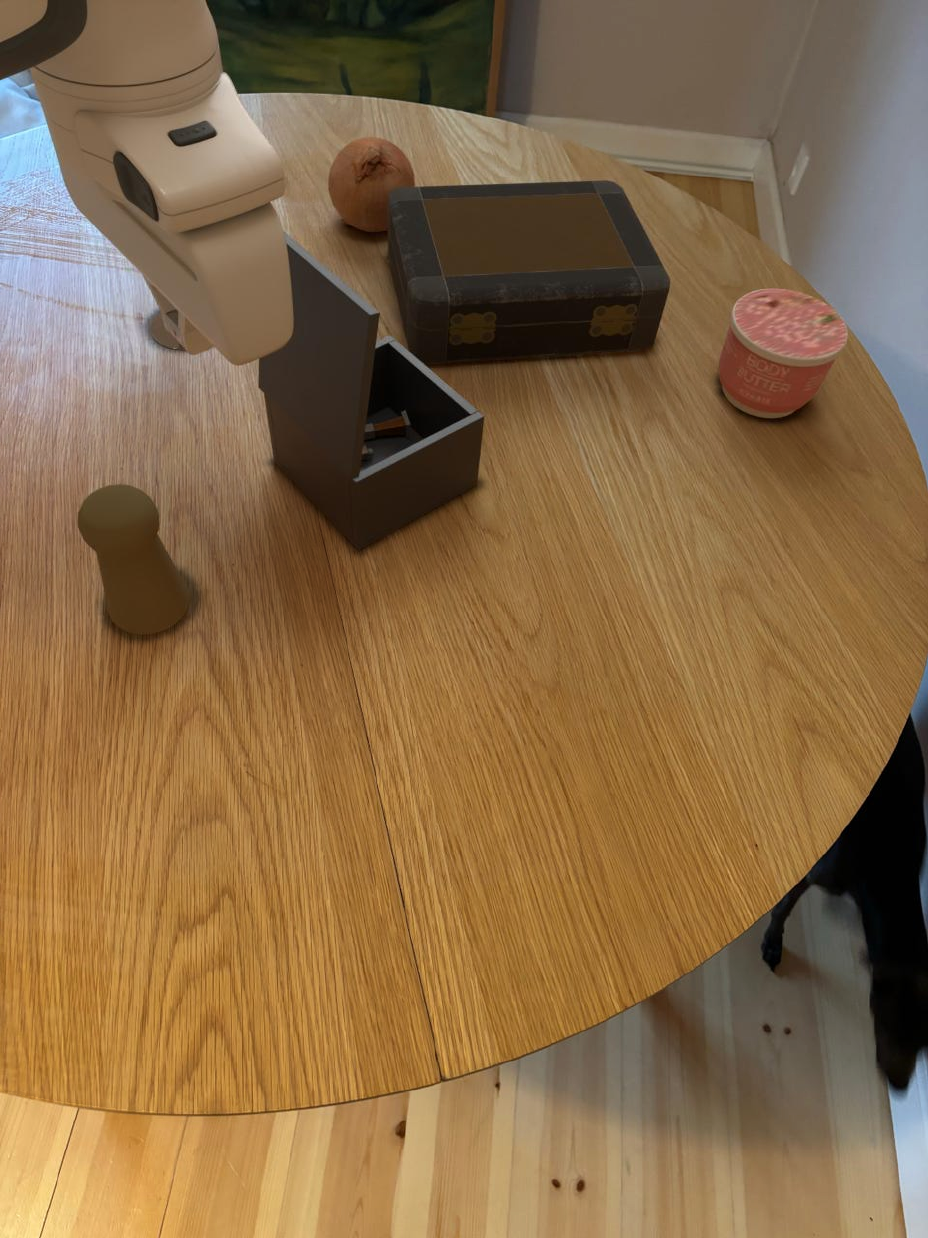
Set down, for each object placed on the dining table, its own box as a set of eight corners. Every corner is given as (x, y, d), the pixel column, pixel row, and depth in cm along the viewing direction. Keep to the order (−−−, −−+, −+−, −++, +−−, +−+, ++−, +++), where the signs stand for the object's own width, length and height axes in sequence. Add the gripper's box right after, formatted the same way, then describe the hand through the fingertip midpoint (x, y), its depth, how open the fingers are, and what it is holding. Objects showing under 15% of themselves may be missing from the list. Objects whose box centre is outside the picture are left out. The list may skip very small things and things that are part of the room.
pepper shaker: (131, 648, 65) (90, 551, 56) (93, 595, 68) (48, 495, 59) (205, 608, 68) (176, 510, 59) (165, 559, 70) (132, 457, 61)
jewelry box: (604, 239, 101) (618, 172, 95) (658, 353, 90) (677, 285, 83) (385, 249, 97) (384, 179, 91) (411, 369, 86) (413, 299, 79)
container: (837, 410, 86) (873, 341, 80) (751, 440, 83) (782, 371, 76) (769, 347, 91) (797, 277, 85) (686, 373, 88) (709, 302, 82)
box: (390, 405, 83) (390, 334, 76) (477, 485, 77) (484, 416, 71) (273, 461, 77) (263, 390, 71) (358, 551, 72) (355, 483, 66)
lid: (271, 219, 61) (260, 221, 61) (380, 312, 56) (370, 315, 55) (266, 385, 71) (258, 387, 70) (359, 477, 66) (350, 480, 65)
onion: (383, 265, 101) (387, 211, 91) (312, 220, 100) (308, 162, 91) (427, 203, 102) (435, 144, 93) (358, 159, 102) (358, 95, 92)
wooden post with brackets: (327, 477, 76) (317, 440, 79) (418, 459, 78) (405, 423, 80) (325, 462, 75) (315, 425, 77) (417, 444, 76) (404, 408, 78)
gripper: (-11, 43, 47) (67, 275, 59) (182, 220, 39) (230, 452, 50) (100, 18, 50) (155, 245, 61) (304, 178, 41) (324, 408, 53)
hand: (190, 340), depth 56 cm, fingers closed
